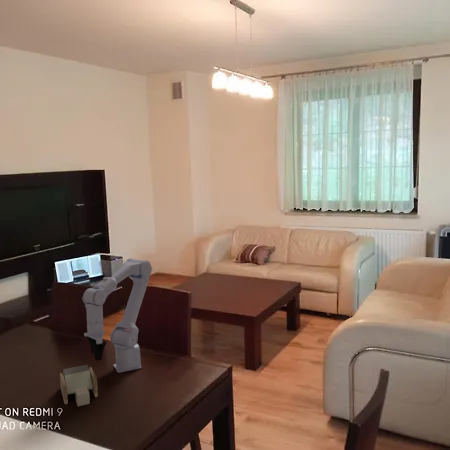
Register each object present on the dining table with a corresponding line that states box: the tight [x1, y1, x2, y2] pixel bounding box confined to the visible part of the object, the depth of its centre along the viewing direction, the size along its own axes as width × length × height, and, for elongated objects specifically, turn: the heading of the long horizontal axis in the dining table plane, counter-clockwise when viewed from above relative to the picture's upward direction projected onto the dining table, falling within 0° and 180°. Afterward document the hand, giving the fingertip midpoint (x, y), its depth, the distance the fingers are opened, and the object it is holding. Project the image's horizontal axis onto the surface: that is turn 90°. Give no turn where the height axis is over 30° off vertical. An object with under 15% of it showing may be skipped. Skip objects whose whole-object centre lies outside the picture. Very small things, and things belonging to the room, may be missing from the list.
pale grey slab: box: [62, 364, 93, 396], centre depth 165 cm, size 8×10×3 cm
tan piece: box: [59, 366, 99, 405], centre depth 164 cm, size 11×11×6 cm
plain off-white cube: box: [74, 387, 91, 407], centre depth 159 cm, size 4×4×5 cm
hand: (96, 356), depth 171 cm, fingers open, 7 cm apart
